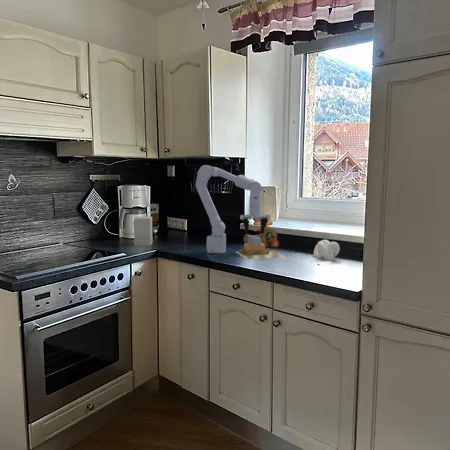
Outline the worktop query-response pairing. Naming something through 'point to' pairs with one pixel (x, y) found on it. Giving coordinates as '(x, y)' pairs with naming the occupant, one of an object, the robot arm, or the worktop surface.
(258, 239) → the pale grey rectangular block
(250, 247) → the orange block
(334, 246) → the pretzel
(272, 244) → the toy helicopter
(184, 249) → the worktop surface
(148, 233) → the supplement box
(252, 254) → the jig
